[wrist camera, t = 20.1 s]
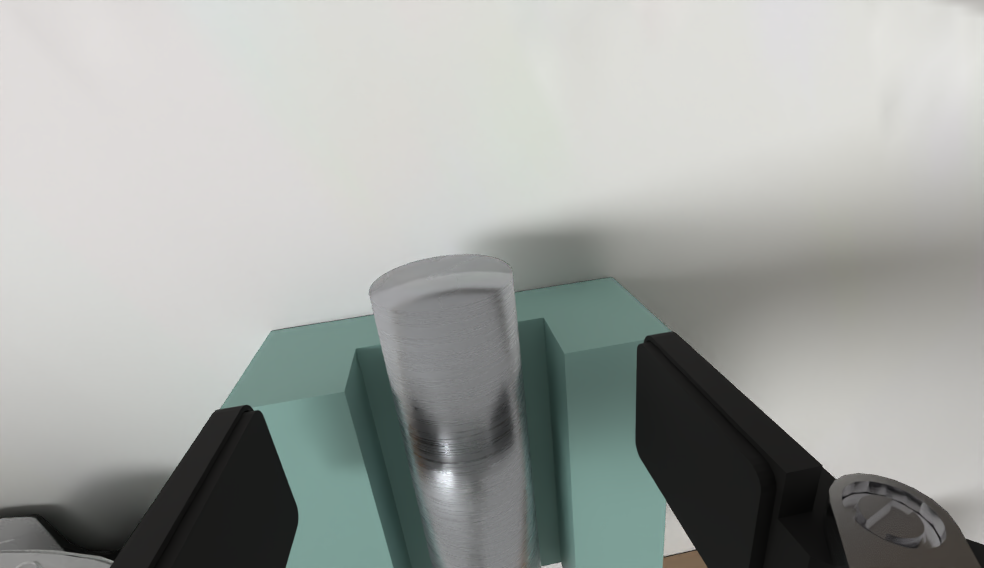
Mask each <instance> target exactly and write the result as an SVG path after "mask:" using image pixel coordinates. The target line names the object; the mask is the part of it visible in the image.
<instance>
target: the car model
mask: <svg viewBox="0 0 984 568" xmlns="http://www.w3.org/2000/svg"><path fill="white" fill-rule="evenodd" d="M121 550H122V549H120V550H118V551H115V552H90V551H88V550H85V549H83V548H81V547H78V546H76V545H74V544H71V543H70V542H68V541H67V540H66V539H65V538H64V537H63V536H62V535H61V534H60V533H59V532H57V531H56V530H55V529H54V528H53V527H52V526H51V525H50V524H49V523H48V522H46V521H45V520H44V519H43V518H42V517H41V516H39V515H29V516H18V517H8V518H0V568H110V566H111V565H112V563H113V562H114V560H115V559H116V557H117V556H118V554H119V553H120V551H121Z"/></svg>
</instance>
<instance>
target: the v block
mask: <svg viewBox="0 0 984 568" xmlns="http://www.w3.org/2000/svg"><path fill="white" fill-rule="evenodd" d="M515 301H516V311H517V322H518V332H519V342H520V353H521V363H522V373H523V384H524V394H525V404H526V415H527V425H528V435H529V446H530V456H531V466H532V477H533V487H534V497H535V508H536V518H537V528H538V539H539V549H540V559H541V566H545V565H550V564H554V563H559V562H561V563H562V566H563V568H663V551H664V532H665V513H666V499H665V498H664V496H663V495H662V493H661V491H660V490H659V488H658V487H657V485H656V483H655V482H654V480H653V478H652V477H651V475H650V474H649V472H648V470H647V469H646V467H645V465H644V464H643V462H642V461H641V459H640V457H639V455H638V452H637V449H636V444H635V427H636V368H637V347H638V345H639V344H641V343H644V339H645V337H646V336H648V335H653V334H659V333H665V332H672V331H671V330H670V329H668V328H667V327H666V326H665V325H664V324H663V323H662V322H661V321H660V320H659V319H658V318H656V317H655V316H654V315H653V314H652V313H651V312H650V311H649V310H648V309H647V308H645V307H644V306H643V305H642V304H641V303H640V302H639V301H638V300H637V299H636V298H634V297H633V296H632V295H631V294H630V293H629V292H628V291H627V290H626V289H625V288H624V287H622V286H621V285H620V284H619V283H618V282H617V281H616V280H615V279H614V278H613V277H609V278H603V279H597V280H590V281H584V282H578V283H571V284H565V285H559V286H552V287H546V288H540V289H533V290H527V291H521V292H515ZM241 405H250V406H251V407H252V408H253V410H254V411H255V410H259V411H261V412H262V414H263V416H264V418H265V421H266V424H267V426H268V429H269V432H270V434H271V437H272V440H273V442H274V445H275V448H276V451H277V453H278V456H279V459H280V461H281V464H282V467H283V469H284V472H285V475H286V478H287V480H288V483H289V486H290V488H291V491H292V494H293V497H294V499H295V502H296V505H297V508H298V516H299V519H298V527H297V530H296V534H295V537H294V541H293V544H292V548H291V551H290V555H289V558H288V561H287V565H286V568H432V564H431V559H430V555H429V551H428V546H427V542H426V538H425V533H424V529H423V525H422V520H421V516H420V512H419V507H418V503H417V499H416V495H415V490H414V486H413V482H412V477H411V473H410V469H409V464H408V460H407V456H406V451H405V447H404V443H403V438H402V434H401V430H400V425H399V421H398V417H397V412H396V408H395V404H394V399H393V395H392V391H391V386H390V382H389V378H388V374H387V369H386V365H385V361H384V356H383V352H382V348H381V343H380V339H379V335H378V330H377V326H376V322H375V317H374V315H369V316H363V317H357V318H350V319H344V320H338V321H332V322H325V323H319V324H313V325H306V326H300V327H294V328H287V329H281V330H275V331H271V332H270V334H269V335H268V337H267V338H266V340H265V341H264V343H263V344H262V346H261V347H260V349H259V350H258V352H257V353H256V355H255V356H254V358H253V360H252V361H251V363H250V364H249V366H248V367H247V369H246V370H245V372H244V373H243V375H242V376H241V378H240V379H239V381H238V382H237V384H236V386H235V387H234V389H233V390H232V392H231V393H230V395H229V396H228V398H227V399H226V401H225V402H224V404H223V405H222V407H221V408H220V409H224V408H230V407H236V406H241Z"/></svg>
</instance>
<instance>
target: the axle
mask: <svg viewBox="0 0 984 568" xmlns="http://www.w3.org/2000/svg"><path fill="white" fill-rule="evenodd" d="M369 296H370V300H371V304H372V309H373V313H374V317H375V322H376V326H377V330H378V335H379V339H380V343H381V348H382V352H383V356H384V361H385V365H386V369H387V374H388V378H389V382H390V386H391V391H392V395H393V399H394V404H395V408H396V412H397V417H398V421H399V425H400V430H401V434H402V438H403V443H404V447H405V451H406V456H407V460H408V464H409V469H410V473H411V477H412V482H413V486H414V490H415V495H416V499H417V503H418V507H419V512H420V516H421V520H422V525H423V529H424V533H425V538H426V542H427V546H428V551H429V555H430V559H431V564H432V568H541V559H540V549H539V539H538V528H537V518H536V508H535V497H534V487H533V477H532V466H531V456H530V446H529V435H528V425H527V415H526V404H525V394H524V384H523V373H522V363H521V353H520V342H519V332H518V322H517V311H516V301H515V291H514V280H513V271H512V268H511V267H510V265H509V264H507V263H506V262H504V261H502V260H500V259H497V258H494V257H490V256H484V255H472V254H460V255H446V256H439V257H433V258H428V259H423V260H419V261H415V262H412V263H408V264H406V265H403V266H400V267H398V268H395V269H393V270H391V271H389V272H387V273H385V274H384V275H382V276H381V277H379V278H378V279H377V280H376V281H375V282H374V283H373V284H372V285H371V287H370V289H369Z"/></svg>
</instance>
